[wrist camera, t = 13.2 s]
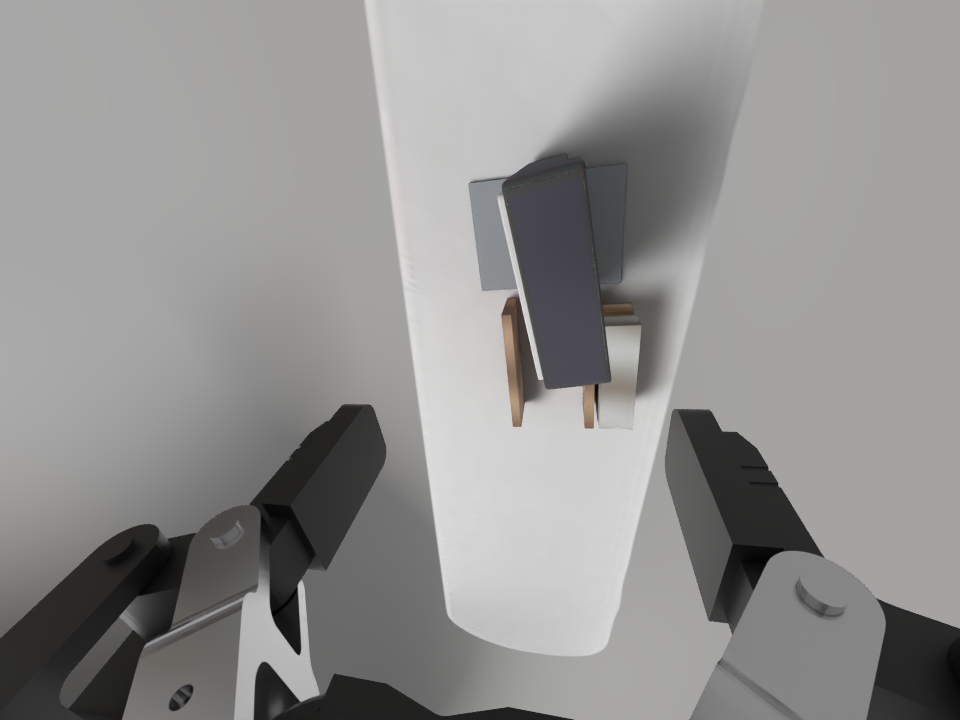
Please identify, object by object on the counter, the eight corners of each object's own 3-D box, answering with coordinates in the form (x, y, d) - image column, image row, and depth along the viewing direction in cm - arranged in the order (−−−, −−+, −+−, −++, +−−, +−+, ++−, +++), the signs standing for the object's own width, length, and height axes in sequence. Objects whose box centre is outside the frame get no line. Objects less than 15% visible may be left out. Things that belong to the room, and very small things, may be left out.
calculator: (517, 166, 29) (482, 187, 16) (575, 149, 28) (584, 158, 15) (544, 299, 34) (532, 395, 21) (593, 290, 33) (612, 386, 20)
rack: (507, 298, 35) (501, 315, 32) (592, 294, 33) (596, 311, 30) (517, 402, 41) (513, 426, 37) (590, 403, 39) (593, 428, 36)
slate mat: (469, 183, 31) (468, 183, 30) (626, 163, 28) (627, 164, 28) (482, 289, 35) (482, 290, 35) (620, 281, 32) (620, 282, 32)
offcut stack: (597, 301, 34) (602, 326, 29) (630, 299, 33) (641, 325, 29) (594, 398, 39) (599, 433, 34) (623, 399, 38) (632, 434, 34)
